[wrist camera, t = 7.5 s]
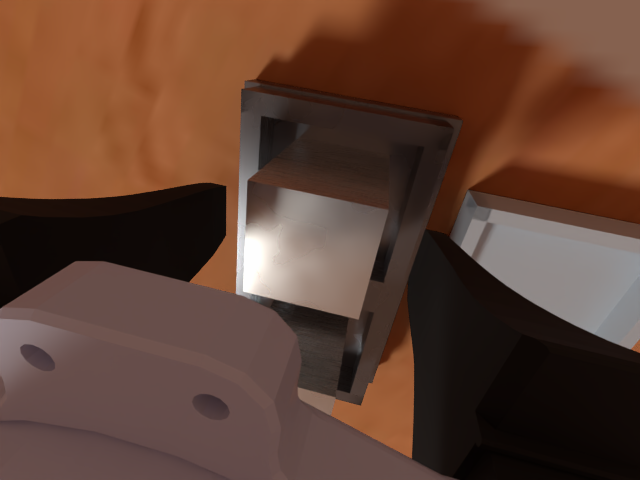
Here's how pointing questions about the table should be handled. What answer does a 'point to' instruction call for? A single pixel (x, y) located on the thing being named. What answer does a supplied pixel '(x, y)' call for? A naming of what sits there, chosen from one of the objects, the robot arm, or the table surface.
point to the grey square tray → (558, 260)
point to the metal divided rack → (404, 193)
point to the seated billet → (316, 351)
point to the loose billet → (316, 225)
